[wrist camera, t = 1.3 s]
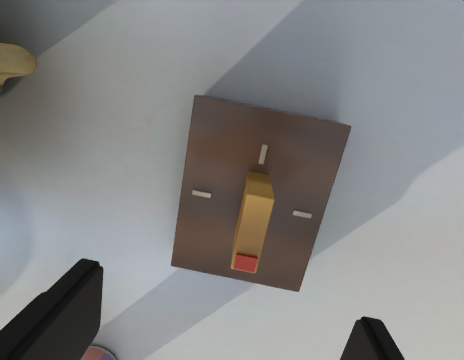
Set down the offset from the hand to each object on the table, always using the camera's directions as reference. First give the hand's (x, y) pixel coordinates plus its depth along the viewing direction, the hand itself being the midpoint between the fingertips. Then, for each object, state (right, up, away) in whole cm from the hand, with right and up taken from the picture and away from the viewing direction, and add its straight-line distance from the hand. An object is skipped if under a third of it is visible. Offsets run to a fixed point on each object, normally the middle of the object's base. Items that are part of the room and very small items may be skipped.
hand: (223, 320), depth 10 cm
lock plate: (+2, +4, +14) cm, 15 cm away
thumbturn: (+2, +3, +11) cm, 12 cm away
